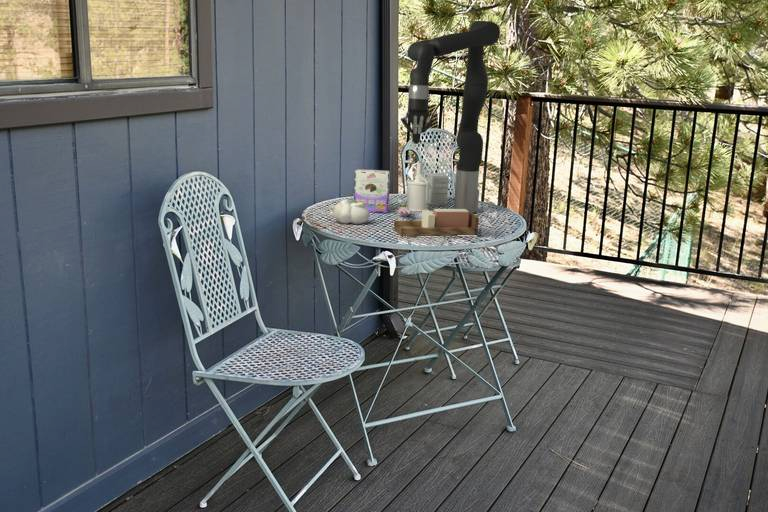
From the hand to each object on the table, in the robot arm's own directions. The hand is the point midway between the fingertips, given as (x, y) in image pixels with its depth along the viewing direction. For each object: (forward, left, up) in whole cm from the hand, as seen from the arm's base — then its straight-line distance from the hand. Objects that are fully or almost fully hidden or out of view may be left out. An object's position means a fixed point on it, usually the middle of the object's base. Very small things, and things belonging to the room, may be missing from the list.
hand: (415, 143), depth 308 cm
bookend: (0, +25, -28) cm, 37 cm away
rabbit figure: (+2, -3, -29) cm, 30 cm away
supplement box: (-17, -28, -29) cm, 44 cm away
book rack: (-3, +25, -29) cm, 38 cm away
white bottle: (-6, -15, -29) cm, 33 cm away
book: (-8, +25, -28) cm, 38 cm away
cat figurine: (+26, +9, -29) cm, 40 cm away
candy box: (+14, -12, -29) cm, 35 cm away
